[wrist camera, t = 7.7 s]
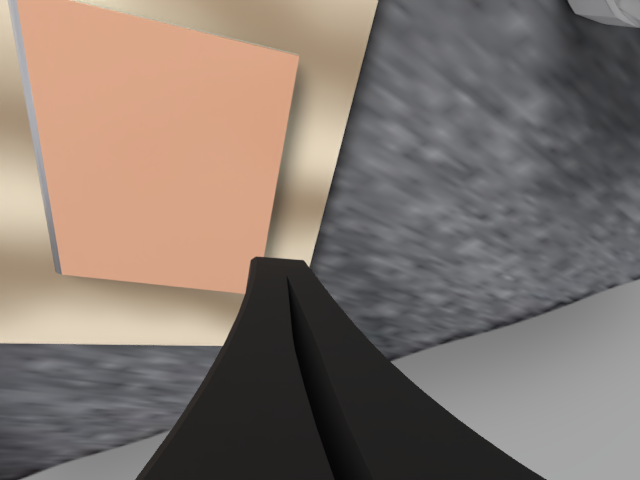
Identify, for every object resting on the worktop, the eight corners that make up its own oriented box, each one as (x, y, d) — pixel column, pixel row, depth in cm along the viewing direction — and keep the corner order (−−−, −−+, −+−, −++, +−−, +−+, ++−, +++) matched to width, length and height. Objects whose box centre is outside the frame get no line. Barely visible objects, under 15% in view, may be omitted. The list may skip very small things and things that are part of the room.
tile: (51, 273, 15) (60, 262, 16) (256, 295, 17) (257, 284, 17) (-2, -17, 10) (15, -15, 11) (299, 56, 12) (297, 54, 12)
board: (286, 331, 22) (288, 346, 21) (-118, 321, 17) (-140, 341, 16) (393, -100, 12) (406, -110, 11) (-516, -449, 7) (-643, -526, 6)
